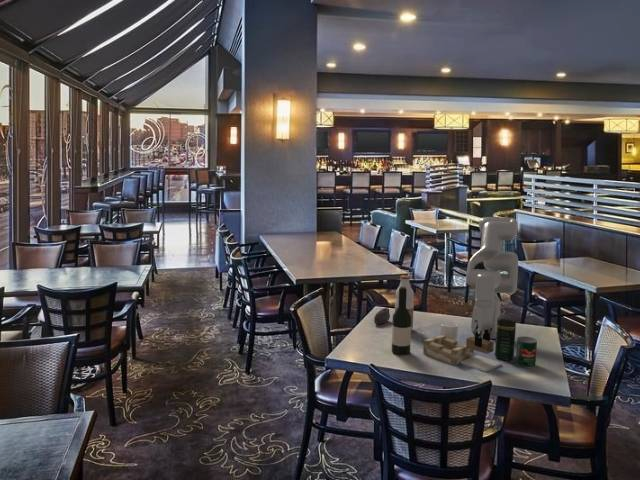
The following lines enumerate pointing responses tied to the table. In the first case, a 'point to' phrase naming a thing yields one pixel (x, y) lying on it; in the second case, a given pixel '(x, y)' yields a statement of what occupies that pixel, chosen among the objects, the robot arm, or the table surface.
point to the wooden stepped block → (446, 350)
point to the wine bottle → (401, 326)
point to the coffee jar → (505, 337)
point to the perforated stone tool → (382, 316)
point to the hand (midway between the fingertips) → (482, 344)
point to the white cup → (449, 330)
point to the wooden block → (486, 347)
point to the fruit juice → (409, 296)
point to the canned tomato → (526, 352)
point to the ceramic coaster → (481, 363)
